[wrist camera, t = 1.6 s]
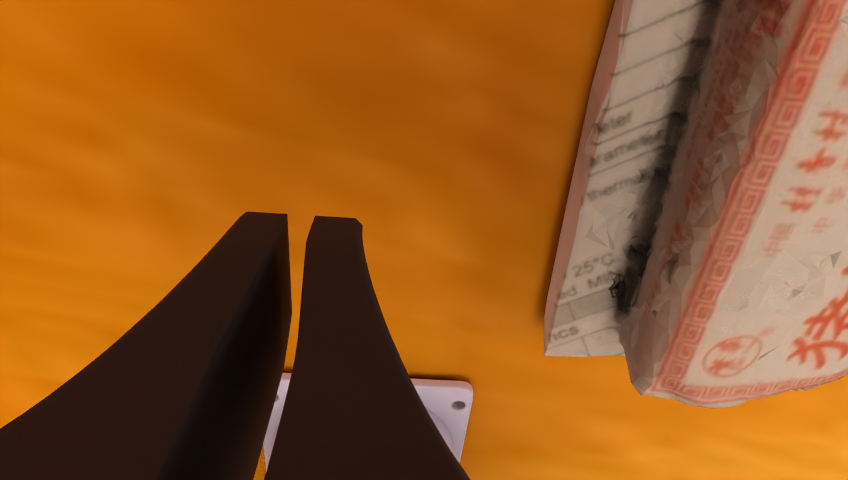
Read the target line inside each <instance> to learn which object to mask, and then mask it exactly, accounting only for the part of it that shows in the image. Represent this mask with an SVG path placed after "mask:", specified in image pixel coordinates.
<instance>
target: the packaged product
mask: <svg viewBox="0 0 848 480" xmlns="http://www.w3.org/2000/svg"><path fill="white" fill-rule="evenodd" d="M543 331H544V355H545V356H575V357H584V356H601V355H604V356H626V360H627V364H628V369H629V375H630V380H631V383H632V384H633V386H634V387H635V388H636V390H637V391H638V392H639V393H640V395H643V394H647V395H651V396H655V397H658V398H668V399H675V400H677V401H679V402H682V403H684V404H689V405H694V406H699V407H706V408H723V407H731V406H736V405H740V404H742V403H744V402H745V401H747V400H751V399H759V398H764V397H768V396H772V395H777V394H780V393H783V392H786V391H789V390H794V391H798V390H799V389H803V390H808V389H811V388H814V387H817V386H819V385H822V384H825V383H828V382H831V381H834V380H837V379H840V378H842V377H844V376H845V375H847V374H848V0H615V4H614V7H613V11H612V14H611V18H610V22H609V25H608V29H607V32H606V36H605V40H604V43H603V47H602V50H601V54H600V58H599V61H598V65H597V68H596V72H595V76H594V79H593V83H592V86H591V91H590V96H589V100H588V105H587V110H586V115H585V120H584V124H583V129H582V134H581V139H580V143H579V148H578V153H577V158H576V163H575V167H574V172H573V177H572V182H571V186H570V191H569V196H568V201H567V206H566V210H565V215H564V220H563V225H562V230H561V234H560V239H559V244H558V249H557V254H556V258H555V263H554V268H553V273H552V277H551V282H550V287H549V292H548V297H547V302H546V308H545V315H544V321H543Z"/></svg>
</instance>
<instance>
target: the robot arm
mask: <svg viewBox="0 0 848 480" xmlns="http://www.w3.org/2000/svg"><path fill="white" fill-rule="evenodd" d="M362 226H363V225H362V224H361V223H360V222H359V221H358V220H357V219H356V218H342V217H326V216H315V218H314V221H313V223H312V226H311V229H310V232H309V235H308V238H307V241H306V250H305V261H304V272H303V284H302V296H301V308H300V320H299V332H298V342H297V348H296V355H295V361H294V366H293V370H292V373H283V369H284V363H285V356H286V350H287V344H288V337H289V330H290V323H291V316H292V302H291V281H290V261H289V240H288V220H287V214H277V213H261V212H246V213H244V214H243V215H242V216H241V217H240V218H239V219H238V220H237V221H236V222H235V223H234V224H233V225H232V227H231V228H230V229H229V230H228V231H227V232H226V233H225V234H224V236H223V237H222V238H221V239H220V240H219V241H218V242H217V243H216V244H215V246H214V247H213V248H212V249H211V250H210V251H209V252H208V253H207V254H206V255H205V256H204V258H203V259H202V260H201V261H200V262H199V263H198V264H197V265H196V266H195V267H194V268H193V269H192V270H191V271H190V272H189V273H188V274H187V275H186V276H185V277H184V278H183V279H182V280H181V281H180V282H179V283H178V284H177V285H176V286H175V287H174V288H173V289H172V290H171V291H170V292H169V293H168V294H167V295H166V296H165V297H164V298H163V299H162V300H161V301H160V302H159V303H158V304H157V305H156V306H155V307H154V308H153V309H152V310H151V311H150V312H148V313H147V314H146V315H145V316H144V317H143V318H142V319H141V320H140V321H138V322H137V323H136V324H135V325H134V326H133V327H132V328H131V329H130V330H129V331H127V332H126V333H125V334H124V335H123V336H122V337H121V338H120V339H119V340H117V341H116V342H115V343H114V344H113V345H112V346H111V347H109V348H108V349H107V350H106V351H105V352H103V353H102V354H101V355H100V356H99V357H97V358H96V359H95V360H94V361H92V362H91V363H90V364H89V365H88V366H86V367H85V368H84V369H83V370H81V371H80V372H79V373H77V374H76V375H75V376H74V377H72V378H71V379H70V380H68V381H67V382H66V383H64V384H63V385H62V386H61V387H59V388H58V389H57V390H55V391H54V392H53V393H51V394H50V395H49V396H47V397H46V398H45V399H43V400H42V401H40V402H39V403H37V404H36V405H35V406H33V407H32V408H30V409H29V410H27V411H26V412H25V413H23V414H22V415H20V416H19V417H17V418H16V419H14V420H13V421H11V422H10V423H8V424H7V425H5V426H4V427H2V428H1V429H0V480H253V478H254V474H255V471H256V467H257V464H258V460H259V456H260V453H261V449H262V446H264V456H265V466H266V475H265V478H264V480H470V478H469V477H468V475H467V474H466V472H465V471H464V470H463V468H462V467H461V465H460V459H461V454H462V449H463V444H464V440H465V435H466V430H467V425H468V420H469V415H470V411H471V406H472V401H473V388H472V386H471V384H469V383H467V382H465V381H455V380H433V379H411V378H410V377H409V375H408V373H407V371H406V369H405V367H404V365H403V362H402V360H401V358H400V356H399V353H398V351H397V349H396V347H395V344H394V342H393V340H392V338H391V335H390V333H389V330H388V328H387V325H386V323H385V320H384V317H383V315H382V312H381V309H380V306H379V303H378V300H377V297H376V294H375V292H374V289H373V285H372V282H371V279H370V275H369V271H368V267H367V263H366V259H365V253H364V248H363V239H362ZM456 401H459V402H456Z"/></svg>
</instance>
